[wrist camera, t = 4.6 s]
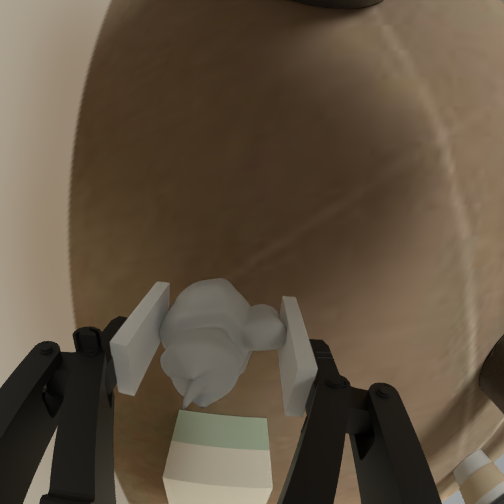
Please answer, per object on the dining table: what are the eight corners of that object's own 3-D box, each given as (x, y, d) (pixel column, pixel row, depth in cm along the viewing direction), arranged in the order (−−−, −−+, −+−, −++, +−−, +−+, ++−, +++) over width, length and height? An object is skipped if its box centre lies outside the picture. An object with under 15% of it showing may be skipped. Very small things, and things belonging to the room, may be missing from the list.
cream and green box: (179, 409, 23) (162, 477, 15) (266, 418, 24) (272, 488, 16) (183, 464, 26) (173, 520, 18) (253, 471, 26) (255, 527, 18)
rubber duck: (159, 276, 16) (97, 353, 9) (273, 258, 16) (293, 334, 8) (183, 354, 18) (151, 450, 10) (286, 341, 17) (305, 441, 10)
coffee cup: (439, 482, 31) (466, 535, 17) (464, 453, 29) (499, 509, 14) (470, 469, 32) (497, 515, 17) (493, 440, 29) (527, 487, 15)
